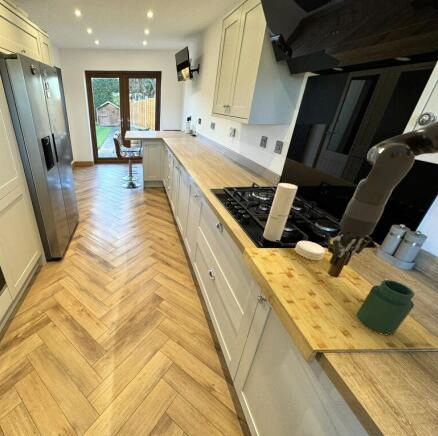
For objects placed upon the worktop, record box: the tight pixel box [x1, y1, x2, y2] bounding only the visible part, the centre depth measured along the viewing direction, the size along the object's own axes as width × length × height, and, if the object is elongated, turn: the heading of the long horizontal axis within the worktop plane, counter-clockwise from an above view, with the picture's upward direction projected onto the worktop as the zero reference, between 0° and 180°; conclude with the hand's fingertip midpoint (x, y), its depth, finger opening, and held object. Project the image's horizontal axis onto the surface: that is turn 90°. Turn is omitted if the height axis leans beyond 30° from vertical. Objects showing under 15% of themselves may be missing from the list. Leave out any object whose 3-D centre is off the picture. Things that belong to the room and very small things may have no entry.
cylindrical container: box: [262, 182, 298, 242], centre depth 103 cm, size 7×7×25 cm
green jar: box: [356, 279, 415, 336], centre depth 64 cm, size 8×8×13 cm
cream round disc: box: [294, 240, 326, 261], centre depth 97 cm, size 10×10×4 cm
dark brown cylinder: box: [326, 249, 350, 279], centre depth 74 cm, size 3×3×9 cm
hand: (338, 264), depth 74 cm, fingers closed on dark brown cylinder, 3 cm apart
